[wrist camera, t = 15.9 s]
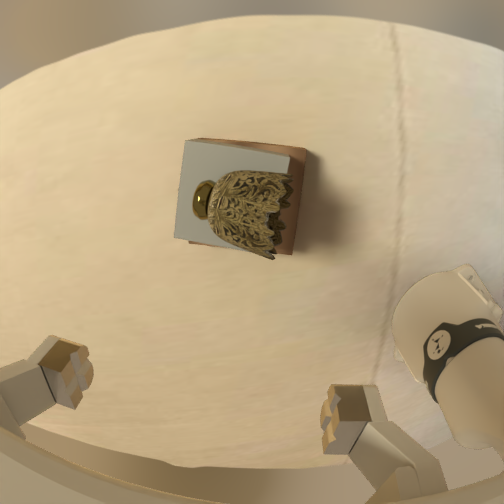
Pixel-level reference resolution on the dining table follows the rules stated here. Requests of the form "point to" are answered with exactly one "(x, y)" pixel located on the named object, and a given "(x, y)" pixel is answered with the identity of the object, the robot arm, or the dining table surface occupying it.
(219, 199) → the cup
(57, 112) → the dining table surface
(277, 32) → the dining table surface
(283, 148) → the tower base
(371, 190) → the dining table surface
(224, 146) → the tower top
